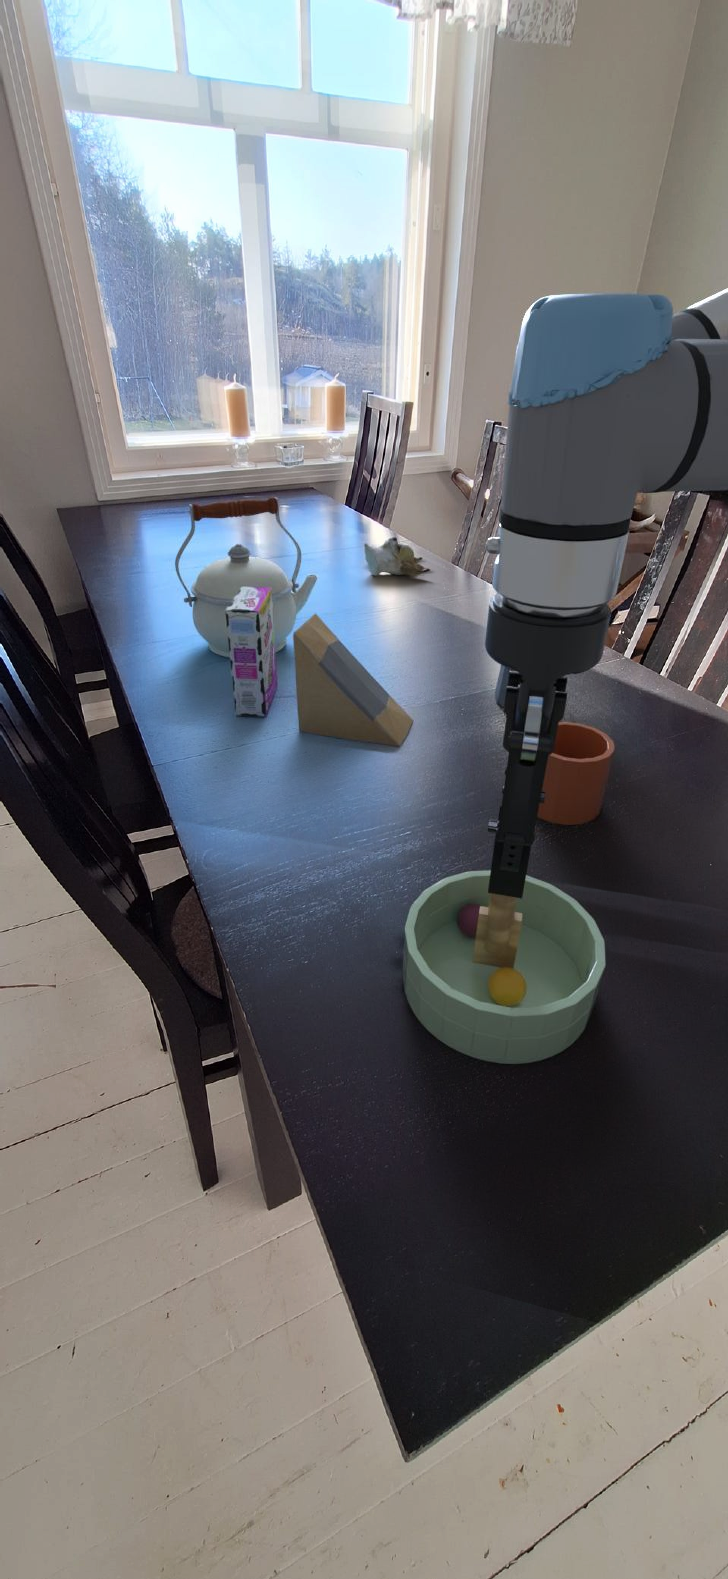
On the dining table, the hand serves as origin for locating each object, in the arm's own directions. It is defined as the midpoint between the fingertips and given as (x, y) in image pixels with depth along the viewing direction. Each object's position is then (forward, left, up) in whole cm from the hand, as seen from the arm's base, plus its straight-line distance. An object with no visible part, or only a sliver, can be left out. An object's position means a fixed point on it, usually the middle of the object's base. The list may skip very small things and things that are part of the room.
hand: (506, 880), depth 56 cm
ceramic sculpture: (+34, -116, -11) cm, 122 cm away
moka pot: (+1, -57, -11) cm, 58 cm away
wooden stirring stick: (0, 0, -10) cm, 10 cm away
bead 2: (-1, +3, -9) cm, 10 cm away
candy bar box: (+41, -46, -11) cm, 63 cm away
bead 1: (+2, -4, -9) cm, 10 cm away
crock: (-5, -27, -11) cm, 30 cm away
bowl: (0, +1, -11) cm, 11 cm away
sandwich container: (+24, -42, -11) cm, 50 cm away
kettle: (+50, -68, -11) cm, 85 cm away
